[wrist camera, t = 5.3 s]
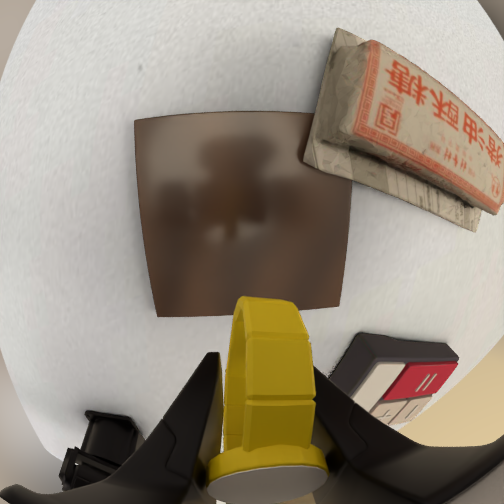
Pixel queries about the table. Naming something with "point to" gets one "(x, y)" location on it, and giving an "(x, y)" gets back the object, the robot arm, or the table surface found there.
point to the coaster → (238, 212)
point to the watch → (267, 409)
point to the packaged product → (404, 134)
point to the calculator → (393, 375)
